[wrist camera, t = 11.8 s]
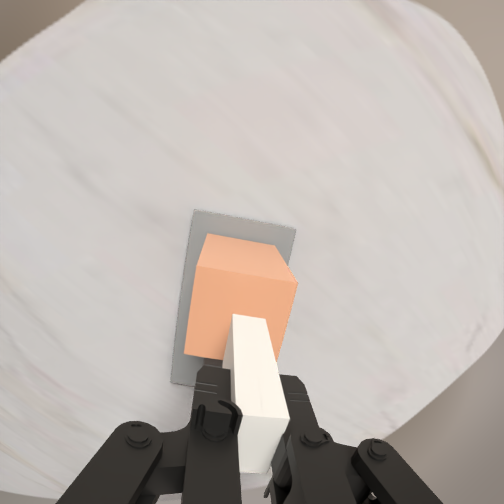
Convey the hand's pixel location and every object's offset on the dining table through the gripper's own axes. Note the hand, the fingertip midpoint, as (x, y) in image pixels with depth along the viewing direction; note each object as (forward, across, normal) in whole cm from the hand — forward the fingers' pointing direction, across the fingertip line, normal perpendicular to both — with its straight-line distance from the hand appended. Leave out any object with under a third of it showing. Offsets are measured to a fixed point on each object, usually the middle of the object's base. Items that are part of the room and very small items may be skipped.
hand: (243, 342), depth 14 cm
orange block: (+11, 0, 0) cm, 11 cm away
